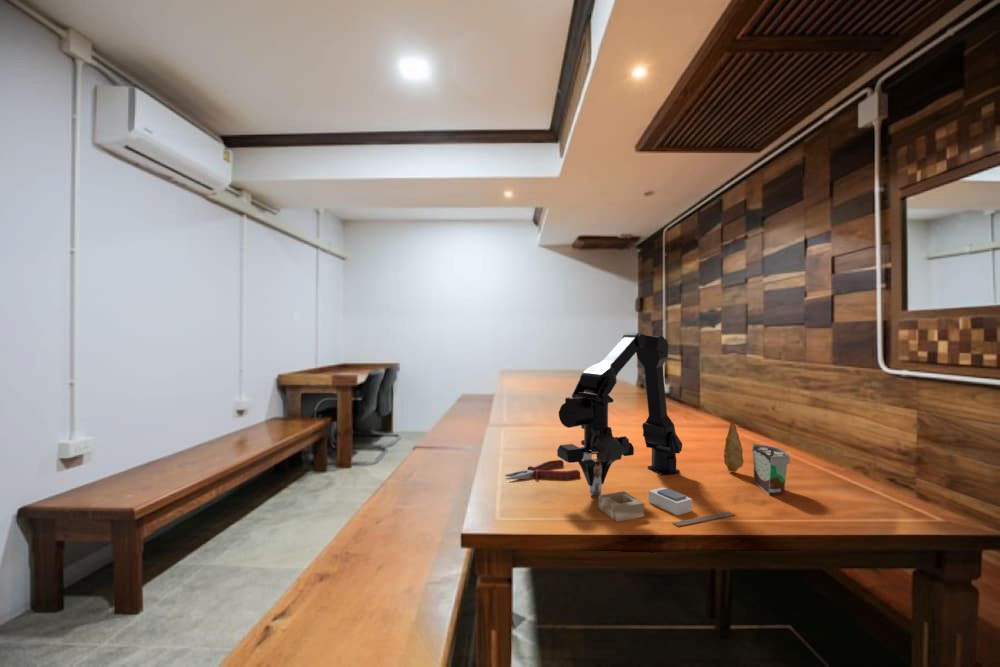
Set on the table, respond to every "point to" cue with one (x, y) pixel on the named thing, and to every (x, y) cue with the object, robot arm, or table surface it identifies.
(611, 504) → the socket block
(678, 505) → the stud finder
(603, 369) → the robot arm
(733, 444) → the stone tool
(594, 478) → the flashlight
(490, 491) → the table surface
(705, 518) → the bar
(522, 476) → the pliers
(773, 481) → the food container
